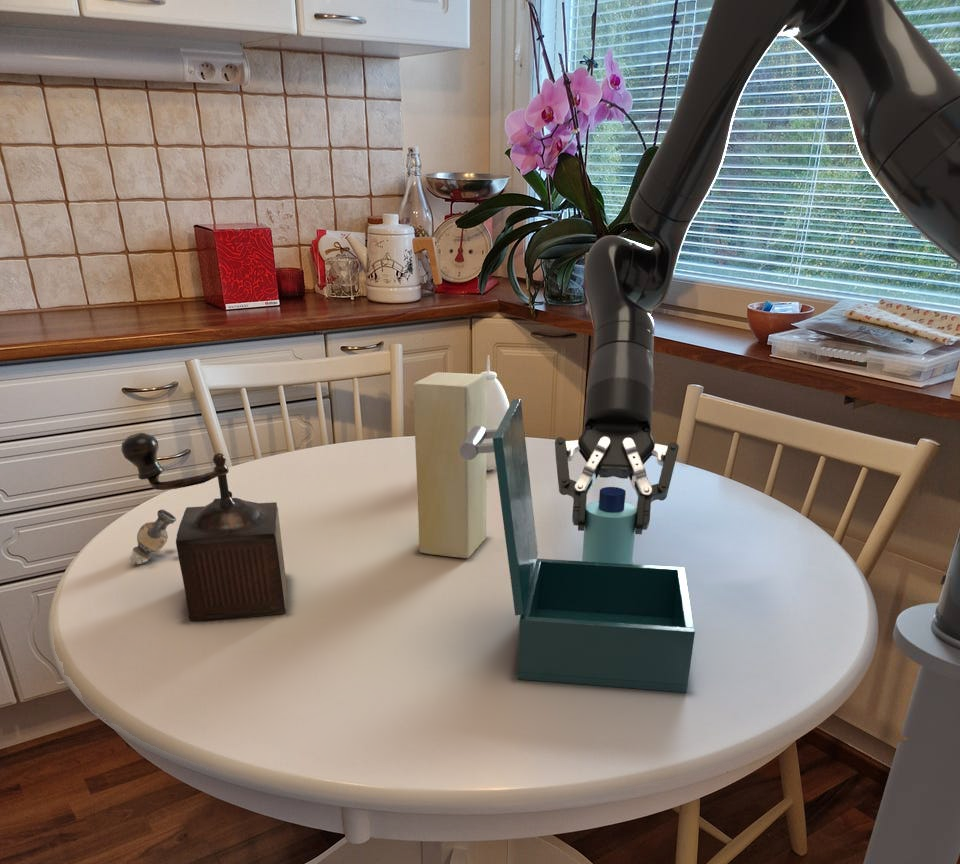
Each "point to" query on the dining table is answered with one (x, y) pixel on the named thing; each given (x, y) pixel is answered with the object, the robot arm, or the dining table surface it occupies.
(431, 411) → the toy refrigerator
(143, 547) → the vase
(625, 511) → the water bottle
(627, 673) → the teal open box
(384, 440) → the dining table surface
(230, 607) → the manual coffee grinder
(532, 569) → the teal box lid
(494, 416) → the sauce bottle
